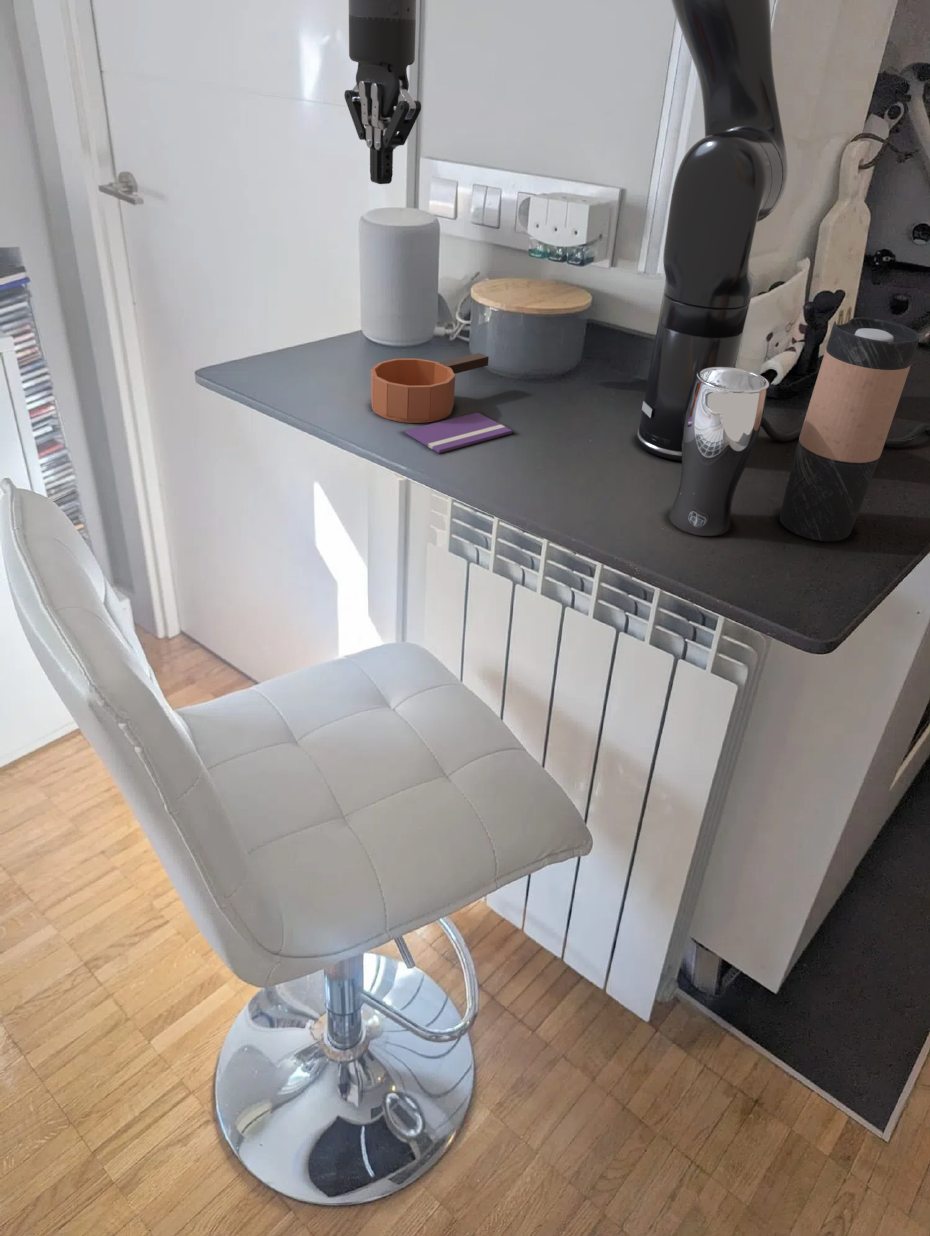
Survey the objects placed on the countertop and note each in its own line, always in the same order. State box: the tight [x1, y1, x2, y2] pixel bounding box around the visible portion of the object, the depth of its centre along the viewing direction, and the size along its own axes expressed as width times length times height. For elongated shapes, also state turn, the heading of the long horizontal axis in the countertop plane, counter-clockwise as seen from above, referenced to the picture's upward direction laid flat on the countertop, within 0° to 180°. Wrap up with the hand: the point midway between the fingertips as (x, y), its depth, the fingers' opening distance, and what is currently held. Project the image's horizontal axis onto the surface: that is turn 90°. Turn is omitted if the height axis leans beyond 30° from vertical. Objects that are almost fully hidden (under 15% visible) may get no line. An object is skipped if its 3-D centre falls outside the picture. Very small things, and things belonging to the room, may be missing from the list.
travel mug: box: [779, 317, 920, 542], centre depth 88 cm, size 8×8×20 cm
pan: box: [370, 352, 490, 424], centre depth 113 cm, size 17×10×5 cm, turn 132°
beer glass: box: [668, 367, 770, 537], centre depth 88 cm, size 7×7×15 cm
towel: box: [404, 412, 513, 454], centre depth 107 cm, size 11×6×1 cm, turn 129°
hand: (380, 182), depth 111 cm, fingers closed
